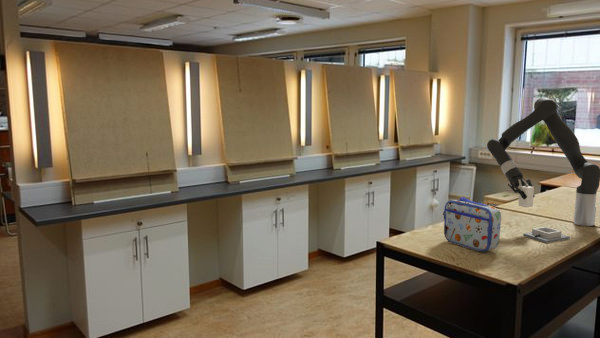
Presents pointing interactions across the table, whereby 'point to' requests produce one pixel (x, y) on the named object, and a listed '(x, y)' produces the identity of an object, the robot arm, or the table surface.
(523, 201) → the block
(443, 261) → the table surface
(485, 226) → the lunch box
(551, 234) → the charging dock
